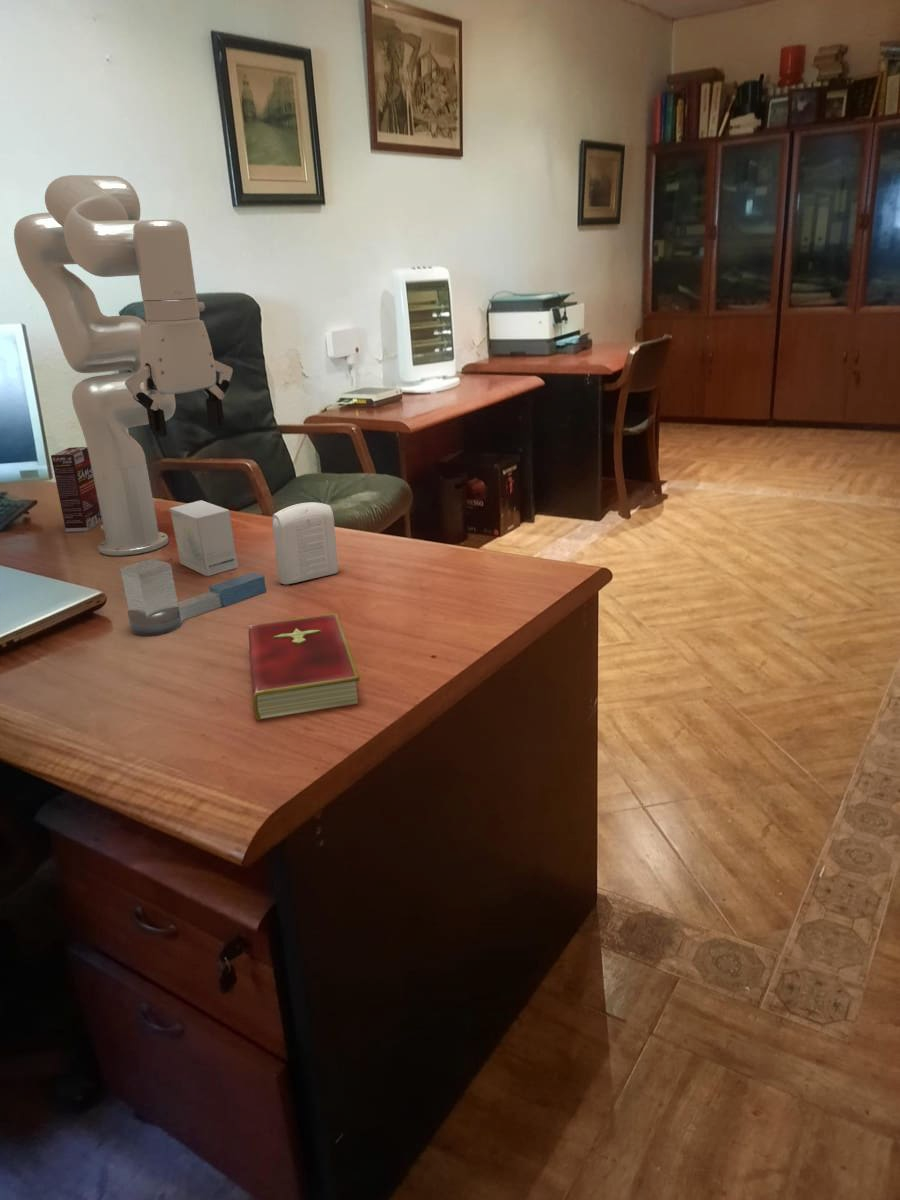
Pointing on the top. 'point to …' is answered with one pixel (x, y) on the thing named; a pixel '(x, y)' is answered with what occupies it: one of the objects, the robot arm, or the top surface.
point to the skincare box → (204, 537)
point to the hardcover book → (301, 666)
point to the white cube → (149, 587)
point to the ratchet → (198, 605)
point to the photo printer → (304, 542)
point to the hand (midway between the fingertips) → (188, 430)
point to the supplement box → (76, 489)
